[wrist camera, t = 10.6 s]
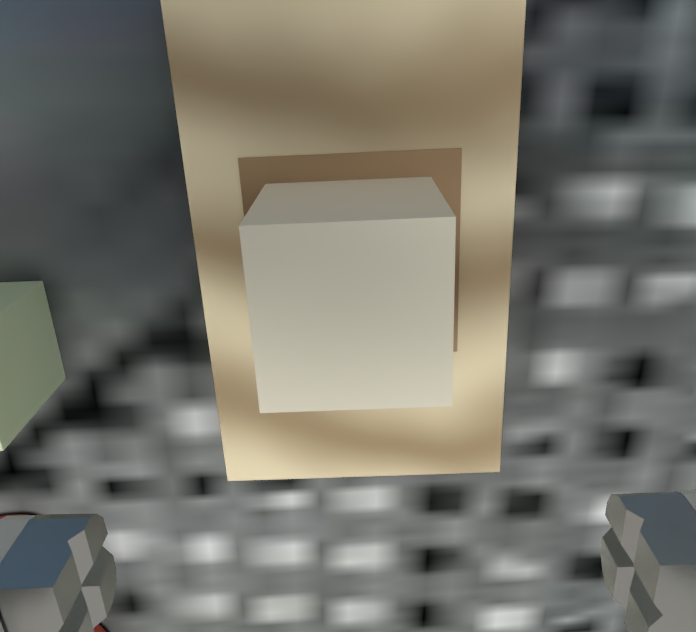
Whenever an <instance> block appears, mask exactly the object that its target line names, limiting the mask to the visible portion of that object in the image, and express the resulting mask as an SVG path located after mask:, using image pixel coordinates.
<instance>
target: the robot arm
mask: <svg viewBox="0 0 696 632" xmlns="http://www.w3.org/2000/svg"><path fill="white" fill-rule="evenodd" d="M605 515H606V517H607V519H608V521H609V523H610V525H611V527H612V528H611V529H610V530H609V531H608V532H607V533H606V534H605V535H604V536H603V537H602V545H601V562H602V571H603V575H604V578H605V582H606V585H607V587H608V589H609V592H610V594H611V596H612V598H613V599H614V600H615V601H616V602H618V603H619V604H620V605H622V606H623V607H625V608H626V616H625V622H624V623H625V625H626V627H627V629H628V632H696V490H680V491H675V492H656V493H633V494H611V496H610V498H609V500H608V502H607V507H606V514H605ZM107 534H108V533H107V530H106V526H105V523H104V519H103V517H101V516H100V515H98V514H50V515H36V516H35V515H18V516H6V517H4V518H2V519H0V632H94V629H93V628H94V627H95V626H97V625H98V624H99V623H100V622H101V621H103V620H104V619H105V618H106V617H107V616H108V613H109V610H110V608H111V605H112V603H113V599H114V593H115V587H116V567H115V562H114V558H113V555H112V554H111V553H110V552H108V551H107V550H106V549H105V548H104V547H103V546H102V544H103V542H104V540H105V538H106V536H107Z"/></svg>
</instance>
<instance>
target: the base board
mask: <svg viewBox="0 0 696 632" xmlns="http://www.w3.org/2000/svg"><path fill="white" fill-rule="evenodd" d="M160 1H161V8H162V15H163V22H164V29H165V37H166V44H167V51H168V58H169V65H170V72H171V79H172V86H173V94H174V101H175V108H176V115H177V122H178V129H179V136H180V143H181V151H182V158H183V165H184V172H185V179H186V186H187V193H188V200H189V208H190V215H191V222H192V229H193V236H194V243H195V250H196V258H197V265H198V272H199V279H200V286H201V293H202V300H203V307H204V315H205V322H206V329H207V336H208V343H209V350H210V357H211V364H212V372H213V379H214V386H215V393H216V400H217V407H218V414H219V421H220V429H221V436H222V443H223V450H224V457H225V464H226V471H227V478H228V481H241V480H271V479H300V478H330V477H360V476H390V475H420V474H450V473H480V472H500V456H501V438H502V420H503V402H504V385H505V367H506V349H507V331H508V313H509V296H510V278H511V260H512V242H513V224H514V207H515V189H516V171H517V153H518V135H519V118H520V100H521V82H522V64H523V46H524V29H525V11H526V0H160ZM409 177H432V179H433V181H434V182H435V184H436V185H437V187H438V189H439V190H440V192H441V193H442V195H443V197H444V198H445V200H446V201H447V203H448V205H449V206H450V208H451V210H452V211H453V213H454V214H455V216H456V239H455V289H454V338H453V388H452V406H445V407H417V408H390V409H362V410H335V411H307V412H280V413H260V410H259V402H258V393H257V384H256V375H255V366H254V357H253V348H252V339H251V331H250V322H249V313H248V304H247V295H246V286H245V277H244V268H243V260H242V251H241V242H240V233H239V225H240V223H241V222H242V220H243V218H244V217H245V215H246V214H247V212H248V211H249V209H250V207H251V206H252V204H253V203H254V201H255V199H256V198H257V196H258V195H259V193H260V192H261V190H262V188H263V187H264V185H265V184H272V183H295V182H318V181H340V180H363V179H386V178H409Z"/></svg>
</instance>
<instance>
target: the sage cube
mask: <svg viewBox="0 0 696 632" xmlns="http://www.w3.org/2000/svg"><path fill="white" fill-rule="evenodd" d="M65 379H66V376H65V372H64V368H63V364H62V360H61V355H60V351H59V347H58V343H57V339H56V335H55V330H54V326H53V322H52V318H51V314H50V309H49V305H48V301H47V297H46V293H45V289H44V284H43V281H25V282H0V451H4V449H5V448H6V447H7V446H8V445H9V444H10V442H11V441H12V440H13V439H14V438H15V437H16V436H17V434H18V433H19V432H20V431H21V430H22V429H23V427H24V426H25V425H26V424H27V423H28V422H29V421H30V419H31V418H32V417H33V416H34V415H35V414H36V412H37V411H38V410H39V409H40V408H41V407H42V405H43V404H44V403H45V402H46V401H47V400H48V399H49V397H50V396H51V395H52V394H53V393H54V392H55V390H56V389H57V388H58V387H59V386H60V385H61V384H62V382H63V381H64V380H65Z"/></svg>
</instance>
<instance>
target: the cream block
mask: <svg viewBox="0 0 696 632" xmlns="http://www.w3.org/2000/svg"><path fill="white" fill-rule="evenodd" d="M239 233H240V242H241V251H242V260H243V268H244V277H245V286H246V295H247V304H248V313H249V322H250V331H251V339H252V348H253V357H254V366H255V375H256V384H257V393H258V402H259V410H260V413H280V412H307V411H335V410H362V409H390V408H417V407H445V406H452V388H453V338H454V289H455V239H456V216H455V214H454V213H453V211H452V210H451V208H450V206H449V205H448V203H447V201H446V200H445V198H444V197H443V195H442V193H441V192H440V190H439V189H438V187H437V185H436V184H435V182H434V181H433V179H432V177H409V178H386V179H363V180H340V181H318V182H295V183H272V184H265V185H264V187H263V188H262V190H261V192H260V193H259V195H258V196H257V198H256V199H255V201H254V203H253V204H252V206H251V207H250V209H249V211H248V212H247V214H246V215H245V217H244V218H243V220H242V222H241V223H240V225H239Z"/></svg>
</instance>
